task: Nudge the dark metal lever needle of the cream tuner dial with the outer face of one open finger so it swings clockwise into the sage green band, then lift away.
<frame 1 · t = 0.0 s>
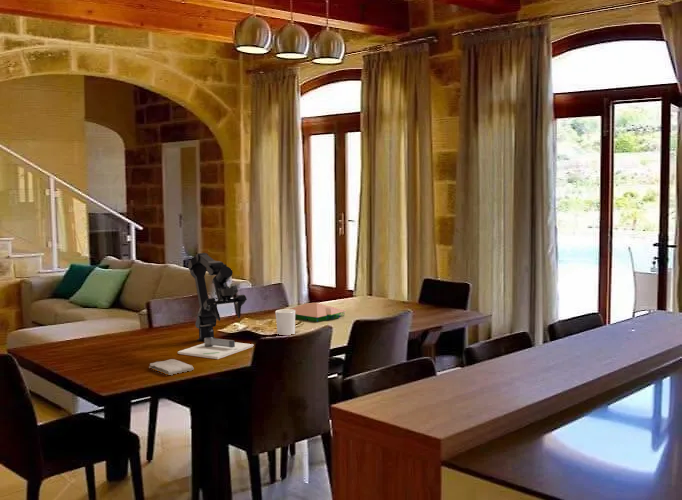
hand: (229, 319, 321), 15 cm above the table, tool tilted 35°, fingers open, 9 cm apart
tuner lever: (219, 343, 328), point 3 cm above the table, hinge at 0.0°
dial plate: (216, 350, 327), on the table
candle holder: (286, 335, 354), on the table
washcloth: (170, 371, 297), on the table
house: (314, 317, 400), on the table
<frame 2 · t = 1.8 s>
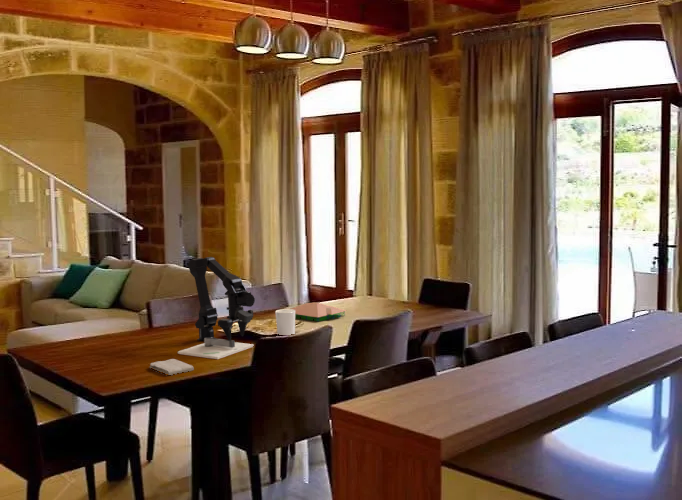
hand: (236, 338, 337), 3 cm above the table, tool pointing down, fingers open, 9 cm apart
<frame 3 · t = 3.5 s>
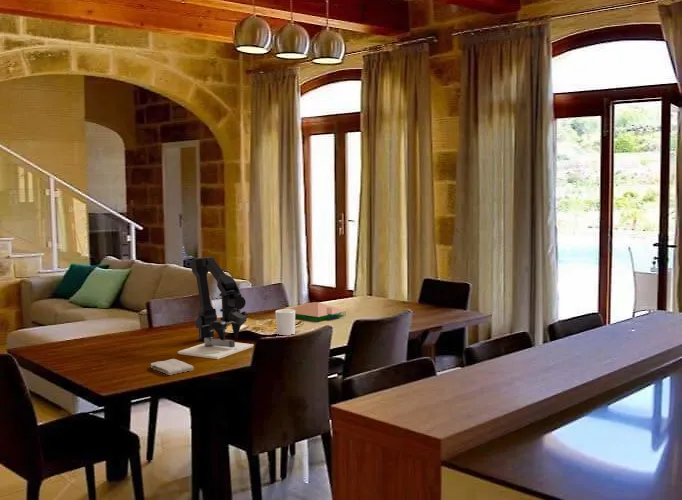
hand: (229, 340, 333), 3 cm above the table, tool pointing down, fingers open, 9 cm apart
tuner lever: (219, 343, 328), point 3 cm above the table, hinge at 0.0°, touching gripper
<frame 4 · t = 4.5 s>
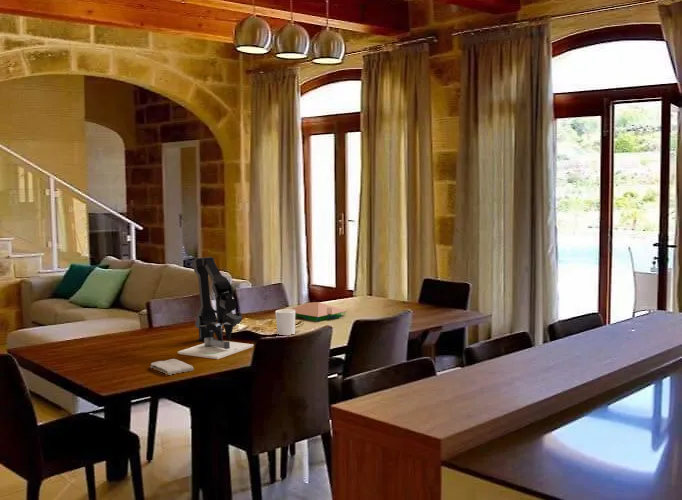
hand: (225, 341, 330), 3 cm above the table, tool pointing down, fingers open, 5 cm apart
tuner lever: (216, 343, 327), point 3 cm above the table, hinge at -13.3°, touching gripper
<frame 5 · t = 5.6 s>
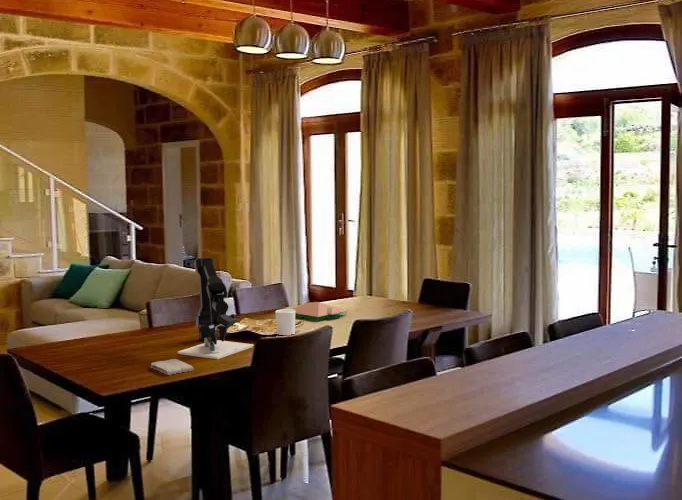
hand: (219, 342, 327), 3 cm above the table, tool pointing down, fingers open, 5 cm apart
tuner lever: (210, 344, 325), point 3 cm above the table, hinge at -42.8°, touching gripper
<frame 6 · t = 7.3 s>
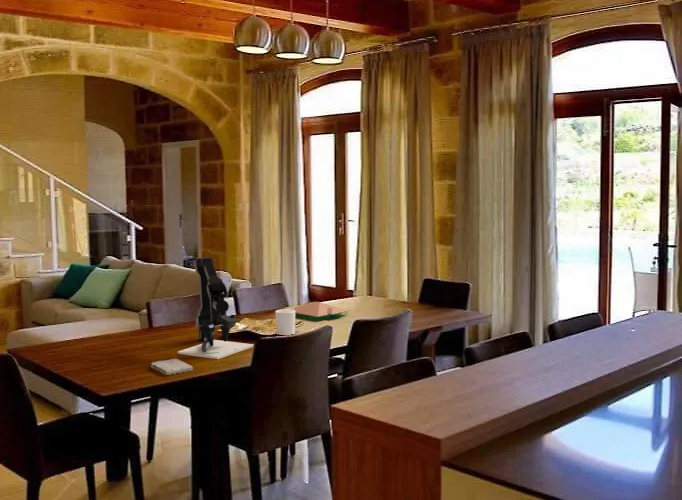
hand: (218, 343, 326), 3 cm above the table, tool pointing down, fingers open, 9 cm apart
tuner lever: (206, 344, 325), point 3 cm above the table, hinge at -57.7°
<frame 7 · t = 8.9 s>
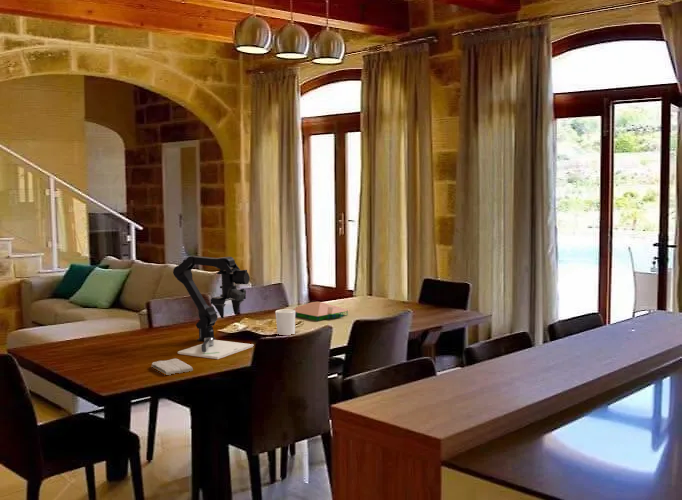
hand: (229, 316, 343), 12 cm above the table, tool pointing down, fingers open, 9 cm apart
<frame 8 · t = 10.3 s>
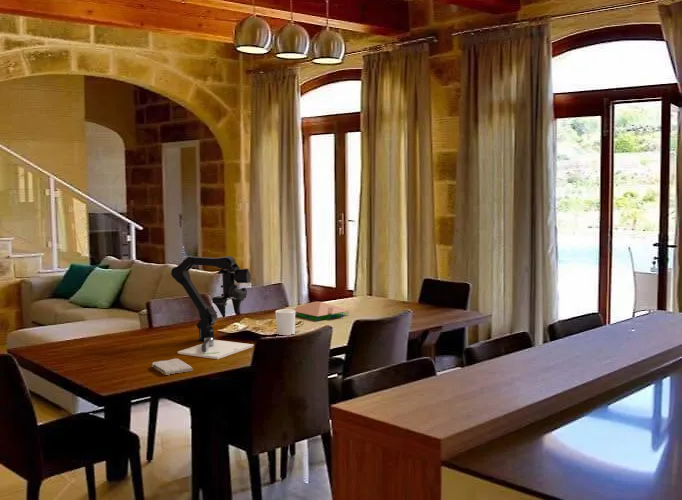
hand: (230, 315, 345), 12 cm above the table, tool pointing down, fingers open, 9 cm apart
at the end: tuner lever at -58° (first picture: +0°); candle holder moved 0.2 cm from its start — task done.
